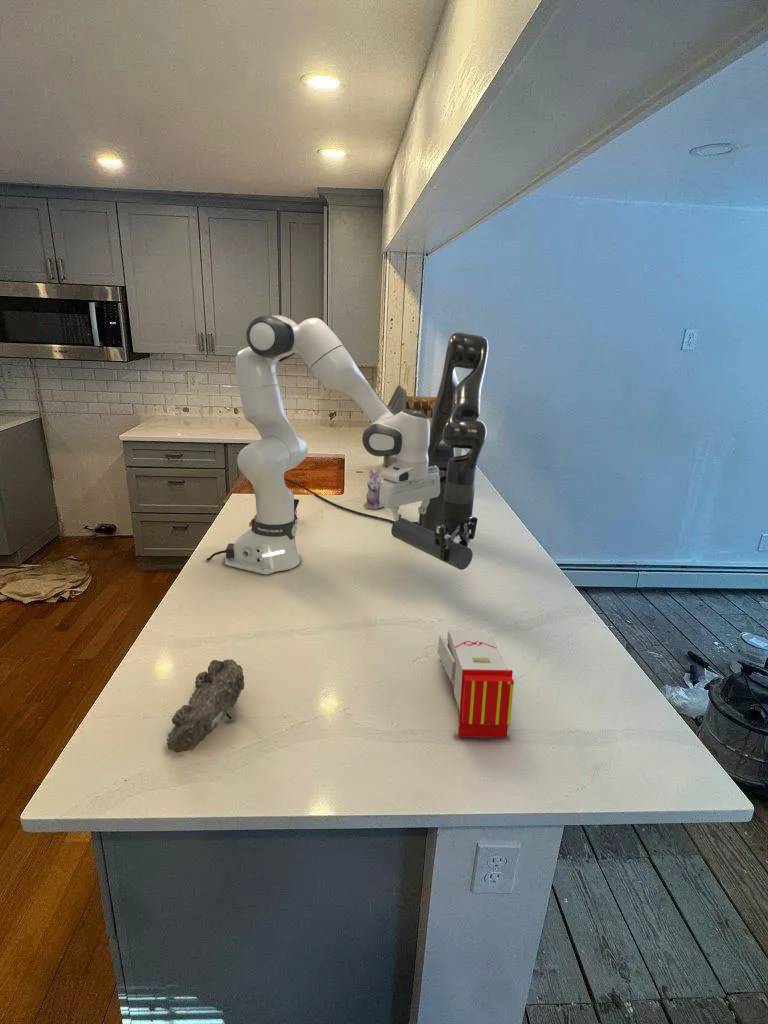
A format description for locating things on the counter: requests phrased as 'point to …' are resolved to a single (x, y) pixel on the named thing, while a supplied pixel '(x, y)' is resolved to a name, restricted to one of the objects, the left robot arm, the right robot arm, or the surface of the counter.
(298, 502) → the figurine character
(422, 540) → the rod
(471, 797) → the counter surface
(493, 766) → the counter surface
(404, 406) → the white crate
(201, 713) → the fossil
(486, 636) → the toy
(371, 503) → the figurine
